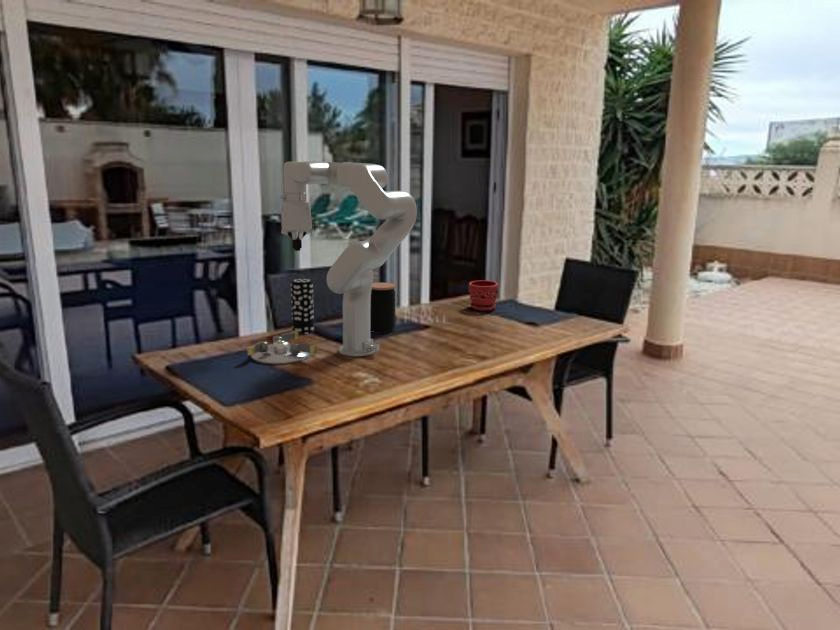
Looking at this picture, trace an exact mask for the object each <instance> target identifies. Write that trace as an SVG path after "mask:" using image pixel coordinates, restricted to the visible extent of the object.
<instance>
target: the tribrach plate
mask: <svg viewBox="0 0 840 630" xmlns="http://www.w3.org/2000/svg"><path fill="white" fill-rule="evenodd" d="M290 344H291V343H289V340H288V341H284V340H278V341H275V342H274V343H273V342H272V343H270V344H268V351H267V352H257V353H255V355H253V356H252V355H250V358H251V360H252V359H253V361H254V360H255V361H254V362H256V363H258V364H259V363H260V364H264V365H287V364H288V365H290V364H295V363H299V362H302V361H305V360H307V359H309V358H310V357H311V356H312V354H310V353H307V352H301V351H300V353H299V354H291V347H290ZM273 345H274V346H273Z"/></svg>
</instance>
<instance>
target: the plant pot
mask: <svg viewBox="0 0 840 630" xmlns="http://www.w3.org/2000/svg"><path fill="white" fill-rule="evenodd" d="M498 291H499V283H498V282H497V281H493V280H488V279H487V280H485V279H484V280H473V281H470V282H469V283H468V295H469V300H470V302H471V303H469V304H470V307H471V308H472V309H474V310H477V311H483V312H484V311H486V312H487V311H492V310H494V309H495V308H496V306H497V304H496V303H495V302H496V301H497V298H498V293H499V292H498Z"/></svg>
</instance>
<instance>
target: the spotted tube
mask: <svg viewBox="0 0 840 630" xmlns="http://www.w3.org/2000/svg"><path fill="white" fill-rule="evenodd" d="M290 299H291V303H290V304H291V329H292V331H298V335H309V334H313V333H315V312H314V311H315V309H314V280H313V279H312V278H294V279H293V278H292V279H291V280H290Z"/></svg>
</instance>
